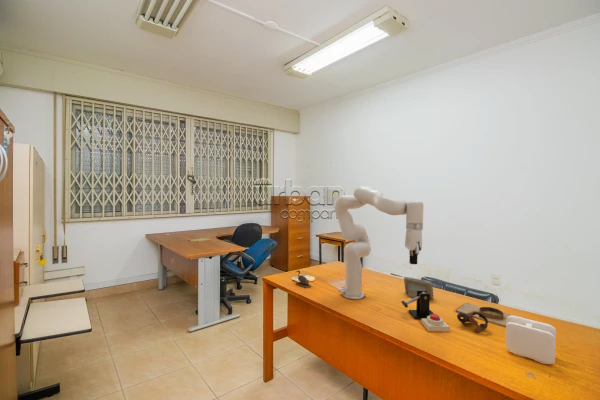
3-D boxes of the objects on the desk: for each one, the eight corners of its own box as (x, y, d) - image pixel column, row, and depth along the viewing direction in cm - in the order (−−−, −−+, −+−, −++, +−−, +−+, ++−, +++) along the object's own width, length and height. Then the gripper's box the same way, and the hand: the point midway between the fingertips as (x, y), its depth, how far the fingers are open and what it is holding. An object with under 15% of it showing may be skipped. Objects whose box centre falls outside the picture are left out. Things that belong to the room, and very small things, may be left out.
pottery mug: (478, 323, 132) (487, 312, 128) (483, 341, 124) (493, 330, 120) (452, 315, 134) (459, 303, 130) (455, 332, 126) (463, 320, 122)
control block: (428, 331, 124) (428, 322, 124) (421, 322, 132) (421, 314, 132) (449, 331, 124) (449, 322, 124) (440, 323, 132) (440, 314, 132)
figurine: (292, 282, 190) (292, 269, 190) (297, 281, 193) (297, 268, 192) (305, 288, 179) (305, 274, 179) (310, 286, 182) (311, 273, 182)
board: (523, 319, 135) (523, 313, 135) (515, 330, 125) (516, 322, 125) (466, 304, 154) (466, 298, 154) (455, 312, 144) (455, 305, 144)
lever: (406, 309, 137) (404, 304, 137) (402, 304, 142) (400, 300, 142) (428, 298, 137) (426, 294, 137) (424, 294, 142) (422, 290, 142)
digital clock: (435, 298, 162) (435, 280, 162) (427, 302, 156) (427, 283, 156) (409, 291, 174) (409, 274, 174) (401, 294, 169) (401, 276, 169)
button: (432, 321, 126) (432, 317, 126) (429, 317, 129) (429, 313, 129) (440, 321, 126) (440, 317, 126) (437, 317, 129) (437, 313, 129)
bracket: (414, 319, 136) (415, 294, 136) (408, 311, 144) (409, 289, 144) (437, 319, 136) (438, 295, 135) (430, 312, 144) (430, 289, 143)
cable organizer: (502, 351, 109) (503, 321, 108) (507, 340, 116) (507, 313, 116) (554, 368, 98) (555, 335, 98) (556, 355, 106) (557, 325, 105)
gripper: (401, 224, 144) (400, 259, 144) (412, 228, 129) (411, 267, 130) (416, 224, 144) (415, 260, 144) (428, 228, 129) (427, 268, 129)
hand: (413, 263), depth 137 cm, fingers closed
